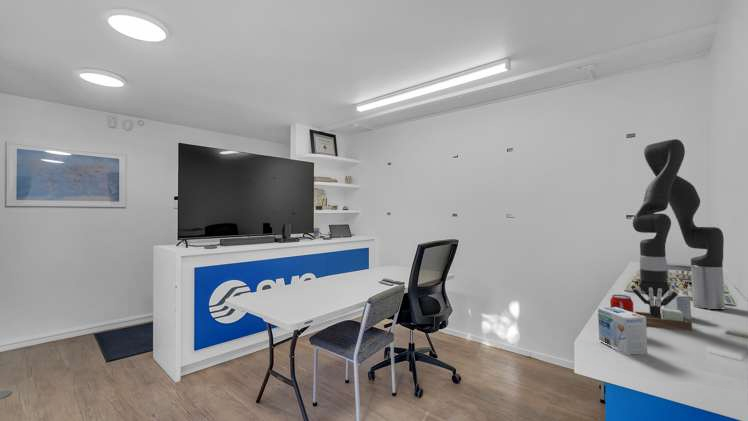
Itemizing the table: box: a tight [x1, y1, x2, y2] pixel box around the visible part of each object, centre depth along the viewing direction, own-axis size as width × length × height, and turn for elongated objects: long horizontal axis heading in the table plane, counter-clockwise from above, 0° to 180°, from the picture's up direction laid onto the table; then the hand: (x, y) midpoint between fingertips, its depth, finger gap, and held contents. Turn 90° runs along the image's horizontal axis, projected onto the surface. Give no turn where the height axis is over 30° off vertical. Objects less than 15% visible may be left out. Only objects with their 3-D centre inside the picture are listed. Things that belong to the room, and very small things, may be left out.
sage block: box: [660, 307, 684, 321], centre depth 116 cm, size 5×5×5 cm
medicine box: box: [662, 291, 692, 321], centre depth 125 cm, size 8×4×9 cm, turn 168°
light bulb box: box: [597, 306, 648, 356], centre depth 98 cm, size 11×7×11 cm, turn 5°
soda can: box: [609, 294, 635, 313], centre depth 111 cm, size 6×6×12 cm
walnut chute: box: [634, 311, 693, 331], centre depth 117 cm, size 8×14×2 cm, turn 59°
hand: (655, 316), depth 118 cm, fingers closed
